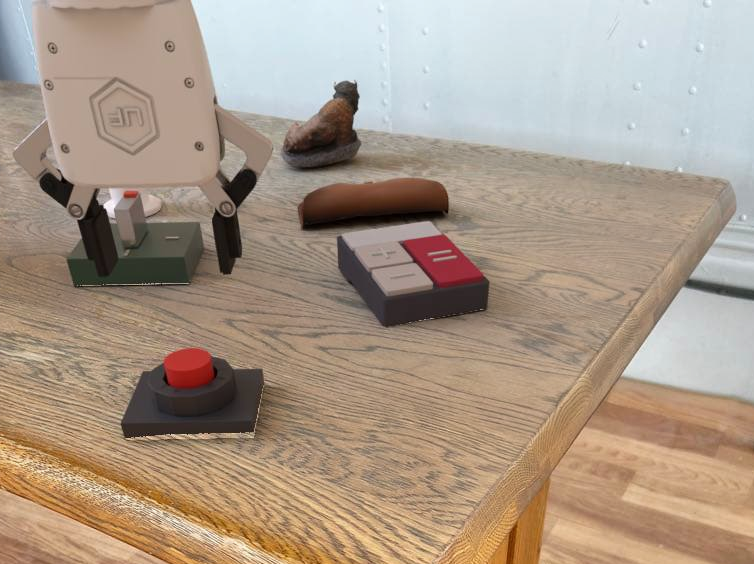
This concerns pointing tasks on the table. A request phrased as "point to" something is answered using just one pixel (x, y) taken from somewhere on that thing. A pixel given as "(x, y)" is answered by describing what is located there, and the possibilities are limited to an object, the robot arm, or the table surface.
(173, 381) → the red button
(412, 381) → the table surface
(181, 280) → the panel
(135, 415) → the button box
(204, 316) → the table surface
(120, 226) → the block knob
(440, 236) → the calculator
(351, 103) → the animal figurine
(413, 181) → the sunglasses case
